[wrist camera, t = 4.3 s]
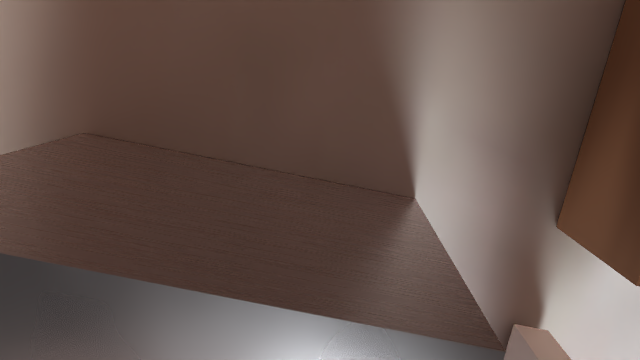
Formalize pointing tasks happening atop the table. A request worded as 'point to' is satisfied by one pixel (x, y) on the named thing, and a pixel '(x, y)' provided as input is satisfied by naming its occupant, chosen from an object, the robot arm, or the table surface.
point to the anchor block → (611, 160)
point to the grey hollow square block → (218, 263)
